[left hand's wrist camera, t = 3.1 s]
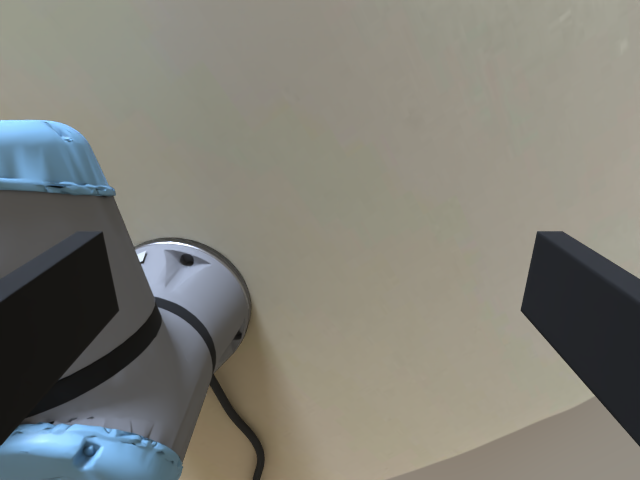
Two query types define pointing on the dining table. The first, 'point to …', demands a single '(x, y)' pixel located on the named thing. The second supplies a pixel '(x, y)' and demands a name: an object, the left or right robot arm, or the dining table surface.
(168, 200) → the dining table surface
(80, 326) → the left robot arm
